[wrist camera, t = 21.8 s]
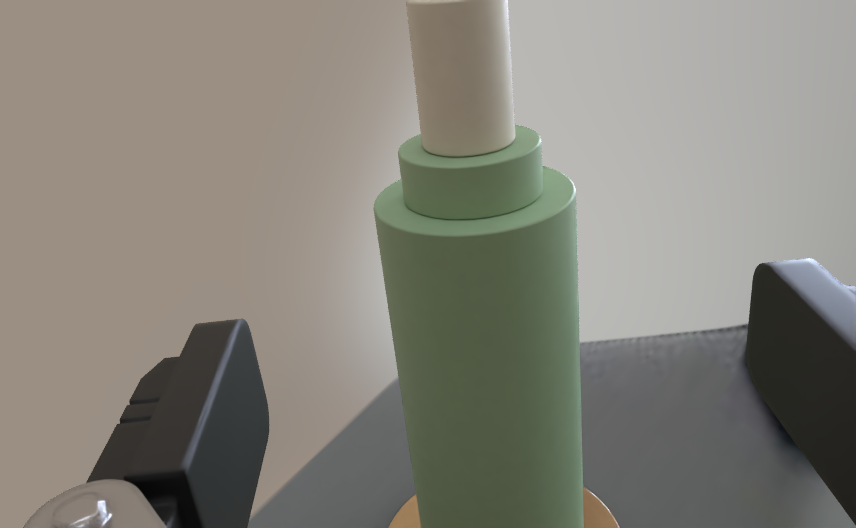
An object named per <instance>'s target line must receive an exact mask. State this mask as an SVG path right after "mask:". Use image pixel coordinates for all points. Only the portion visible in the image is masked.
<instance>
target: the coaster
mask: <svg viewBox="0 0 856 528" xmlns="http://www.w3.org/2000/svg"><path fill="white" fill-rule="evenodd" d="M583 516H584V528H619V526H618V524H617V522H616V520H615V518H614V517H613V515H612V514H611V512H610V511H609V510H608V508H607V507H606V506H605V505H604V504H603V503H602V502H601V501H600V499H599V498H597V497H596V496H595V495H594V494H593V493H591V492H590V491H589V490H588V489H586V488H585V487H583ZM388 528H421V524H420V517H419V511H418V504H417V497H416V494H415V495H414V496H413V497H411V498H410V499H409V500H408V501H407V502H406V503H405V504H404V505H403V506H402V508H401V509H400V510H399V512H398V513H397V514H396V516H395V517H394V519H393V520H392V522H391V524H390V526H389V527H388Z"/></svg>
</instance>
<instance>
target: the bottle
mask: <svg viewBox="0 0 856 528" xmlns="http://www.w3.org/2000/svg"><path fill="white" fill-rule="evenodd" d="M406 6H407V15H408V24H409V32H410V41H411V50H412V58H413V67H414V76H415V85H416V93H417V102H418V111H419V120H420V129H421V134H420V135H417V136H415V137H413V138H411V139H409V140H407V141H406V142H405V143H403V144H402V145H401V147H400V148H399V151H398V156H399V164H400V172H401V179H400V180H398V181H397V182H395V183H393V184H391V185H390V186H388V187H387V188H385V189H384V190H383V191H382V192H381V193H380V194H379V195H378V197H377V198H376V200H375V204H374V214H375V221H376V227H377V235H378V241H379V248H380V255H381V261H382V267H383V274H384V281H385V288H386V294H387V302H388V309H389V315H390V322H391V328H392V336H393V342H394V349H395V356H396V362H397V369H398V376H399V383H400V389H401V396H402V403H403V410H404V416H405V423H406V430H407V437H408V443H409V450H410V457H411V464H412V470H413V477H414V484H415V490H416V497H417V504H418V511H419V517H420V524H421V528H584V516H583V474H582V431H581V389H580V347H579V305H578V263H577V219H576V190H575V186H574V184H573V182H572V181H571V180H570V179H569V178H568V177H567V176H566V175H564V174H563V173H561V172H559V171H556V170H554V169H551V168H549V167H545V166H542V148H541V138H540V136H539V134H538V133H537V132H535V131H534V130H532V129H529V128H527V127H523V126H519V125H515V120H514V102H513V85H512V68H511V52H510V35H509V18H508V0H407V1H406Z"/></svg>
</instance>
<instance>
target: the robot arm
mask: <svg viewBox="0 0 856 528" xmlns="http://www.w3.org/2000/svg"><path fill="white" fill-rule="evenodd" d="M746 358H747V366H748V370H749V374H750V377H751V380H752V382H753V384H754V386H755V388H756V389H757V391H758V392H759V394H760V395H761V396H762V398H763V399H764V400H765V402H766V403H767V405H768V406H769V407H770V409H771V410H772V411H773V413H774V414H775V415H776V417H777V418H778V420H779V421H780V422H781V424H782V425H783V426H784V428H785V429H786V430H787V432H788V433H789V435H790V436H791V437H792V439H793V440H794V441H795V443H796V444H797V446H798V447H799V448H800V450H801V451H802V452H803V454H804V455H805V456H806V458H807V459H808V461H809V462H810V463H811V465H812V466H813V467H814V469H815V470H816V471H817V473H818V474H819V476H820V477H821V478H822V480H823V481H824V482H825V484H826V485H827V487H828V488H829V489H830V491H831V492H832V493H833V495H834V496H835V497H836V499H837V500H838V502H839V503H840V504H841V506H842V507H843V508H844V510H845V511H846V513H847V514H848V515H849V517H850V518H851V519H852V521H853V522H854V523H855V525H856V287H854V286H851V285H846V286H844V285H843V284H842V283H841V282H839V281H838V280H837V279H836V278H835V277H834V276H833V275H831V274H830V273H829V272H828V271H827V270H826V269H824V268H823V267H822V266H821V265H820V264H819V263H818V262H816V261H815V260H813V259H811V258H805V259H796V260H787V261H779V262H768V263H762V264H759V265H758V266H757V268H756V269H755V272H754V276H753V282H752V293H751V303H750V314H749V324H748V335H747V346H746ZM268 435H269V412H268V404H267V399H266V394H265V390H264V386H263V382H262V378H261V374H260V369H259V365H258V361H257V357H256V352H255V349H254V344H253V340H252V336H251V332H250V329H249V326H248V324H247V322H246V321H245V320H244V319H235V320H226V321H217V322H208V323H199V324H196V325H195V326H194V328H193V329H192V331H191V333H190V336H189V338H188V340H187V342H186V344H185V346H184V348H183V350H182V353H181V355H180V357H171V358H164V359H163V360H162V361H161V362H160V363H159V364H157V365H156V366H155V367H154V368H153V369H152V370H151V371H149V372H148V373H147V374H146V375H145V376H144V377H143V378H142V379H141V380H140V382H139V384H138V386H137V388H136V390H135V391H134V393H133V395H132V397H131V399H130V405H127V407H126V408H125V410H124V412H123V414H122V416H121V418H120V424H117V425H116V427H115V429H114V431H113V433H112V435H111V437H110V439H109V441H108V443H107V444H106V446H105V448H104V450H103V452H102V454H101V456H100V458H99V460H98V461H97V463H96V465H95V467H94V469H93V471H92V473H91V475H90V476H89V478H88V480H87V482H86V483H85V484H82V485H79V486H76V487H74V488H71V489H69V490H67V491H65V492H63V493H61V494H59V495H57V496H56V497H54V498H53V499H51V500H50V501H48V502H47V503H46V504H44V505H43V506H42V507H41V508H39V509H38V510H37V511H36V512H35V513H34V514H33V515H32V516H31V517H30V519H29V520H28V521H27V523H26V524H25V525H24V527H23V528H247V526H248V522H249V517H250V513H251V509H252V504H253V500H254V496H255V492H256V487H257V484H258V479H259V475H260V471H261V466H262V462H263V458H264V454H265V449H266V445H267V441H268Z"/></svg>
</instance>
